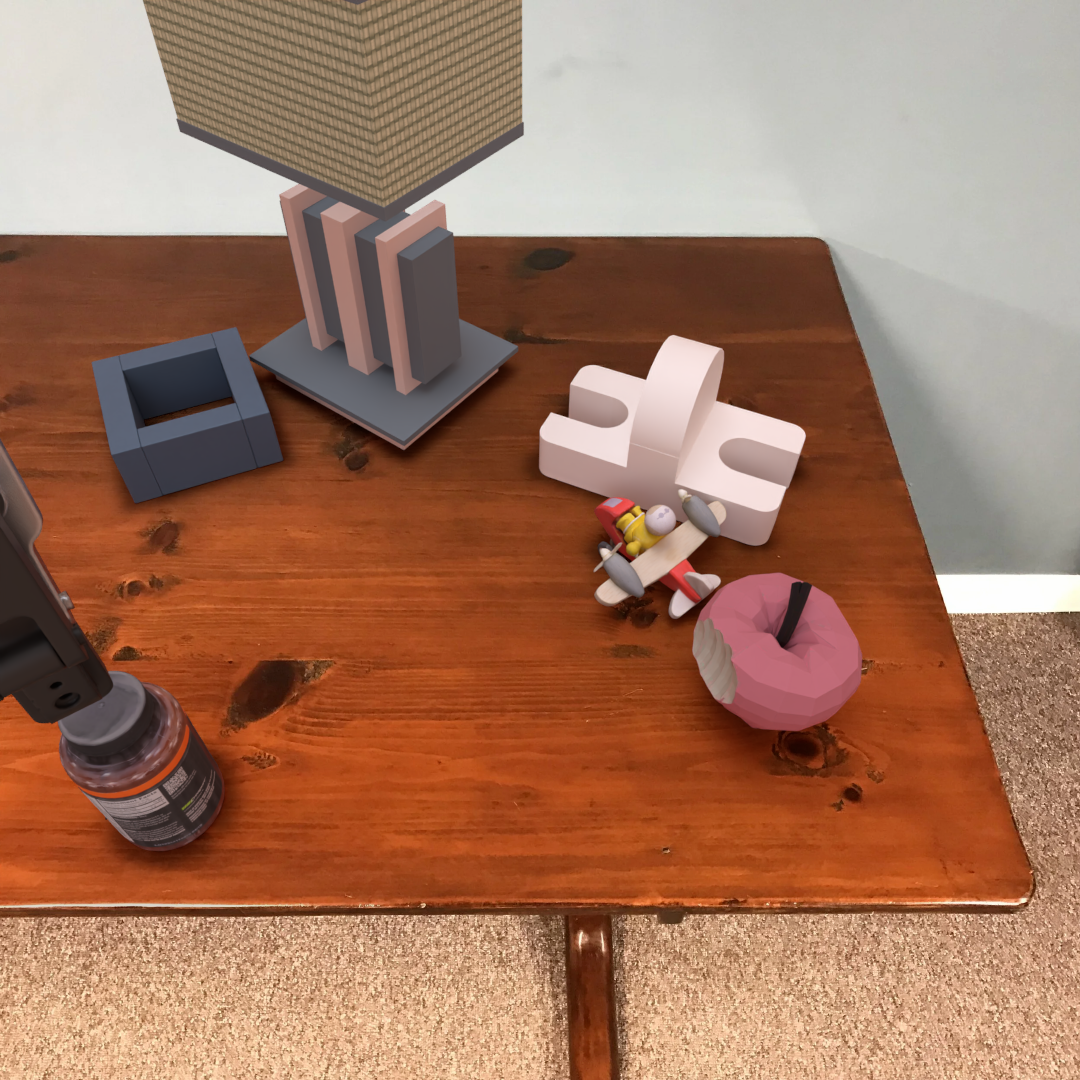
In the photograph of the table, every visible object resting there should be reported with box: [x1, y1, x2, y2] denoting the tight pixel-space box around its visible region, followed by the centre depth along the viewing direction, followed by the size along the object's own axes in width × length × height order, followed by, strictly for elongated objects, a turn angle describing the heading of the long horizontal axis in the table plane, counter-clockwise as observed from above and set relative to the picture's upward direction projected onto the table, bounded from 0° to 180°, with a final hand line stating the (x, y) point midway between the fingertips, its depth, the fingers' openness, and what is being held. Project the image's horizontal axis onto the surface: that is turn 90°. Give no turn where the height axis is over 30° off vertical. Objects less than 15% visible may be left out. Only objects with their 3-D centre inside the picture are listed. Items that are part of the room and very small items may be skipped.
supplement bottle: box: [57, 670, 226, 852], centre depth 46 cm, size 6×6×11 cm
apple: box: [692, 572, 863, 732], centre depth 52 cm, size 10×9×10 cm
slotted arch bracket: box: [538, 334, 807, 547], centre depth 64 cm, size 10×18×11 cm, turn 65°
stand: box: [91, 326, 284, 504], centre depth 68 cm, size 11×11×5 cm
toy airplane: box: [593, 489, 726, 620], centre depth 59 cm, size 9×9×6 cm
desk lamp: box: [142, 0, 525, 451], centre depth 63 cm, size 18×14×33 cm
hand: (34, 602), depth 28 cm, fingers open, 8 cm apart
